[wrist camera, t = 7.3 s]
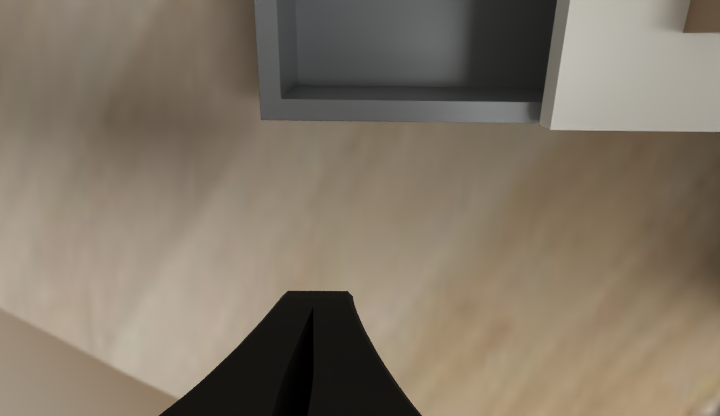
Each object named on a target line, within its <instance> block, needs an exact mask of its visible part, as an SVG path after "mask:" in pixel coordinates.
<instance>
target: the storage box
mask: <svg viewBox="0 0 720 416" xmlns="http://www.w3.org/2000/svg"><path fill="white" fill-rule="evenodd" d="M556 5H557V0H254V10H255V27H256V44H257V61H258V78H259V95H260V112H261V120H303V121H389V122H474V123H539V122H540V115H541V108H542V101H543V94H544V87H545V80H546V74H547V67H548V60H549V53H550V46H551V39H552V32H553V25H554V19H555V12H556Z"/></svg>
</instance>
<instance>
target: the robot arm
mask: <svg viewBox="0 0 720 416" xmlns="http://www.w3.org/2000/svg"><path fill="white" fill-rule="evenodd" d="M159 416H422V415H421V414H420V413H419V412H418V410H417V409H416V408H415V407H414V405H413V404H412V403H411V402H410V400H409V399H408V398H407V396H406V395H405V394H404V392H403V391H402V390H401V388H400V387H399V386H398V384H397V383H396V381H395V380H394V378H393V377H392V375H391V374H390V372H389V371H388V369H387V368H386V366H385V365H384V363H383V361H382V360H381V358H380V357H379V355H378V353H377V351H376V350H375V348H374V346H373V344H372V342H371V341H370V339H369V337H368V335H367V333H366V331H365V329H364V327H363V325H362V323H361V321H360V318H359V316H358V314H357V311H356V308H355V305H354V301H353V296H352V295H351V294H350V293H349V292H348V291H287V292H286V293H285V294H284V295H283V296H282V297H281V298H280V300H279V301H278V302H277V303H276V304H275V306H274V307H273V308H272V309H271V310H270V312H269V313H268V314H267V315H266V316H265V317H264V319H263V320H262V321H261V322H260V323H259V324H258V325H257V326H256V328H255V329H254V330H253V331H252V332H251V333H250V334H249V335H248V336H247V337H246V338H245V339H244V340H243V341H242V342H241V343H240V345H239V346H238V347H237V348H236V349H235V350H234V351H233V352H232V353H231V354H230V355H229V356H228V357H227V358H225V359H224V360H223V361H222V362H221V363H220V364H219V365H218V366H217V367H216V368H215V369H214V370H213V371H212V372H211V373H210V374H209V375H207V376H206V377H205V378H204V379H203V380H202V381H201V382H200V383H199V384H197V385H196V386H195V387H194V388H193V389H192V390H191V391H189V392H188V393H187V394H186V395H185V396H183V397H182V398H181V399H180V400H178V401H177V402H176V403H174V404H173V405H172V406H171V407H169V408H168V409H167V410H165V411H164V412H163V413H162V414H160V415H159Z"/></svg>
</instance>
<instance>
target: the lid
mask: <svg viewBox="0 0 720 416" xmlns="http://www.w3.org/2000/svg"><path fill="white" fill-rule="evenodd" d="M539 125H540V126H542V127H545V128H547V129H549V130H590V131H677V132H720V0H557V5H556V12H555V19H554V25H553V32H552V39H551V46H550V53H549V60H548V67H547V74H546V80H545V87H544V94H543V101H542V108H541V115H540V122H539Z"/></svg>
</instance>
